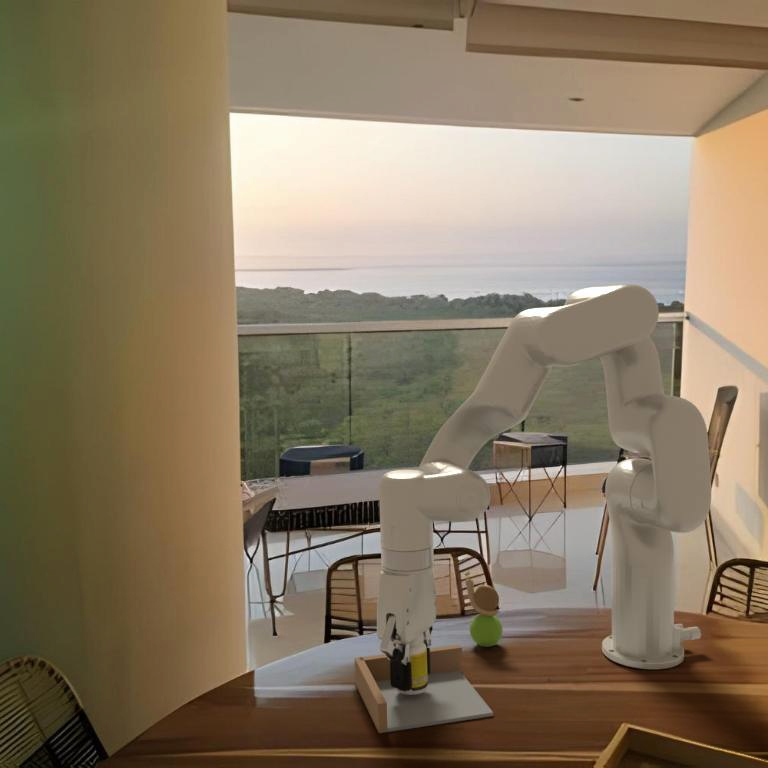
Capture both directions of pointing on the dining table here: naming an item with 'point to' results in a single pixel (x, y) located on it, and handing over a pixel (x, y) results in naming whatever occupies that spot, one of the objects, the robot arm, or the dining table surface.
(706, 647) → the dining table surface
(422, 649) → the supplement bottle
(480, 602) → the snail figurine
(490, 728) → the dining table surface
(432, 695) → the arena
